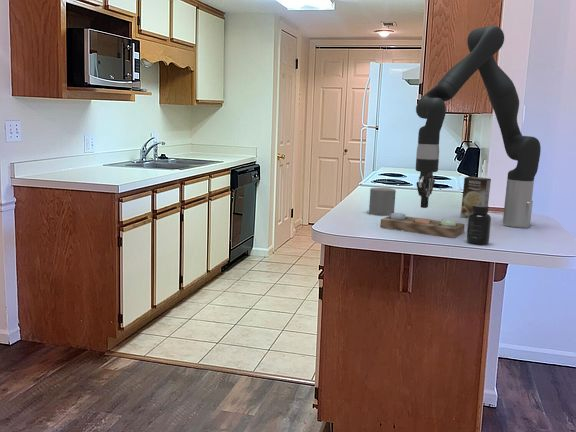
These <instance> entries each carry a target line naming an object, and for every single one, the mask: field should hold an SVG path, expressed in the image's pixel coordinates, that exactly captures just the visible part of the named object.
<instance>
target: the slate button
mask: <svg viewBox="0 0 576 432" xmlns="http://www.w3.org/2000/svg"><path fill="white" fill-rule="evenodd" d="M405 216H406V214H405V213H401V212H394V213H391V219H396V220H405Z"/></svg>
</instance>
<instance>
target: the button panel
mask: <svg viewBox="0 0 576 432" xmlns="http://www.w3.org/2000/svg"><path fill="white" fill-rule="evenodd" d="M415 219H424V218H421V217H413V216H406V215H405V220H396V219H391V216H385V217H383V218H380V227H379V228H380V229H387V228H388V229H389V230H394V229H396V230H395V231H401V230H404V231H403V232H408V231H411V232H410V233H415V232H418V233H417V234H422V233H423V235H431V236H437V237H444V238H452V239H455V238H457V237H459V236H460V235H462V234H464V233H465V228H466V227H465V225H466V224H465V223H460V222H456V227H448V226H441V220H438V219H430V218H429V219H428V218H425V219H426V220H430V223H428V224H426V223H418V222H415ZM388 229H387V230H388Z"/></svg>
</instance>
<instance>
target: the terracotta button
mask: <svg viewBox="0 0 576 432" xmlns="http://www.w3.org/2000/svg"><path fill="white" fill-rule="evenodd" d="M426 219H427V218H423V219H415V222H418V223H426V224H428V223H430V220H431V219H430V220H426Z"/></svg>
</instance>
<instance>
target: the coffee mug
mask: <svg viewBox="0 0 576 432" xmlns="http://www.w3.org/2000/svg"><path fill="white" fill-rule="evenodd" d="M396 191H397V189H395V188H391V187H380V186H379V187H377V186H375V187H371V188H370V190H369V206H368V214H369V215H372V216H378V217H379V216H380V217H389V216H391V213H395V207H396V206H395V205H396V193H397V192H396Z"/></svg>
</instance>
